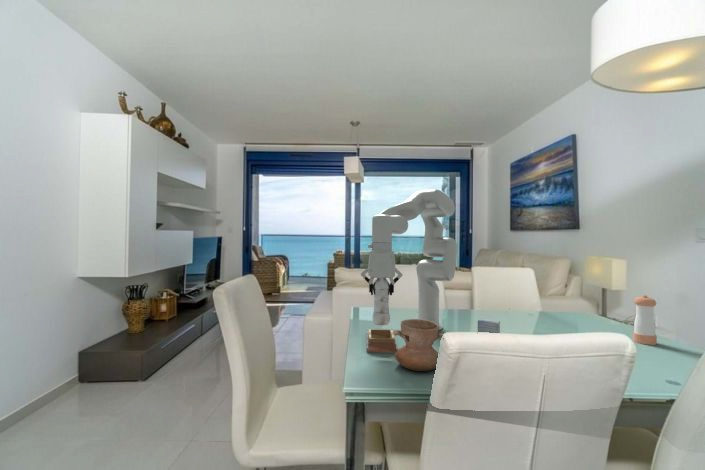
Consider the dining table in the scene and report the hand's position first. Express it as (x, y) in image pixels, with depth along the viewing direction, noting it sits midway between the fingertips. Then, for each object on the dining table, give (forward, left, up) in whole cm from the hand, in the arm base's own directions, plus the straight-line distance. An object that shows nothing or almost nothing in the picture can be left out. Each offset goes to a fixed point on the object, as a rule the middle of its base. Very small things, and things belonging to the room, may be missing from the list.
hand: (381, 294), depth 129 cm
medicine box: (-21, +40, -21) cm, 50 cm away
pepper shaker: (-41, +101, -21) cm, 111 cm away
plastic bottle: (0, 0, -12) cm, 12 cm away
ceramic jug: (+14, +16, -21) cm, 30 cm away
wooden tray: (-4, -1, -20) cm, 21 cm away
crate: (0, 0, -19) cm, 19 cm away
